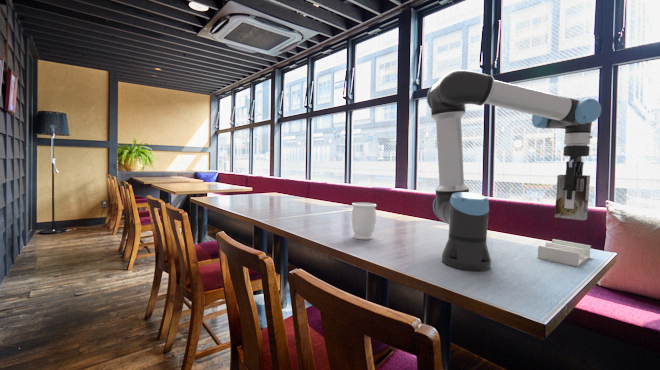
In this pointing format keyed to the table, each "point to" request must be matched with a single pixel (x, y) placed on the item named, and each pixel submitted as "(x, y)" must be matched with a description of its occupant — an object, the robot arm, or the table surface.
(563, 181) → the coffee box
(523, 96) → the robot arm
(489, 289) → the table surface
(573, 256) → the comb rack
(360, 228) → the jar
